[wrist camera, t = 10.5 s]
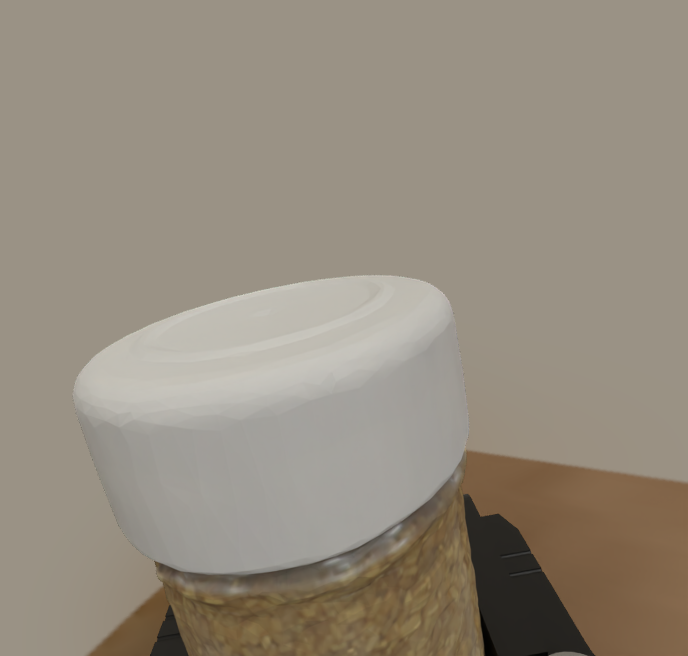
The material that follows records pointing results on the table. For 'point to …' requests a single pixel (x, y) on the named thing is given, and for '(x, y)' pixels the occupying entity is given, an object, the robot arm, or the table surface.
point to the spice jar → (296, 468)
